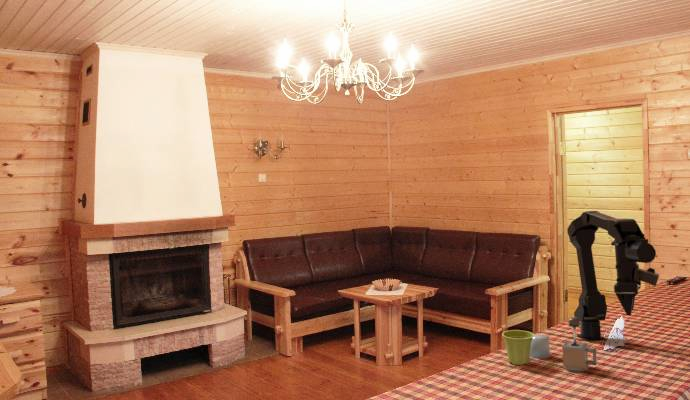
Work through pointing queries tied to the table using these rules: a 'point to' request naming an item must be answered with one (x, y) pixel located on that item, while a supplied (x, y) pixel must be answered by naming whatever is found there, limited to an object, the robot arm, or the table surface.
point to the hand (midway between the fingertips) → (630, 312)
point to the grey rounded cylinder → (540, 347)
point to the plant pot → (518, 346)
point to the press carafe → (577, 356)
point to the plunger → (574, 327)
